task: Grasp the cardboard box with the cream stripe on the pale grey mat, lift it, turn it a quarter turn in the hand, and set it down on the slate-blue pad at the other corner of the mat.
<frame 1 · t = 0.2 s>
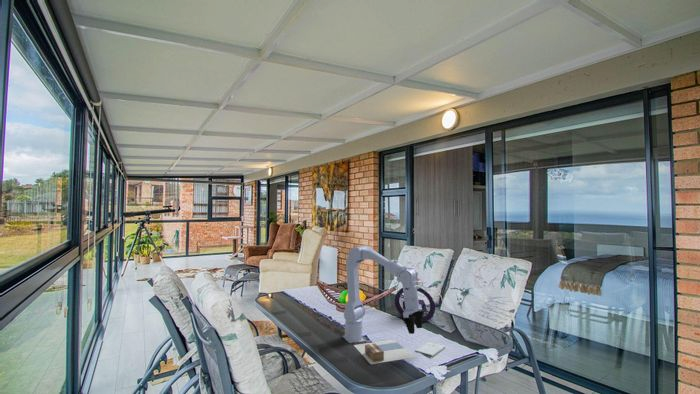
hand: (415, 330, 152), 10 cm above the table, tool pointing down, fingers open, 7 cm apart
cardboard box: (374, 356, 149), point 1 cm above the table, touching mat
mat: (383, 352, 155), on the table
external hard drive: (430, 352, 157), on the table
decorative bottle: (414, 317, 202), on the table
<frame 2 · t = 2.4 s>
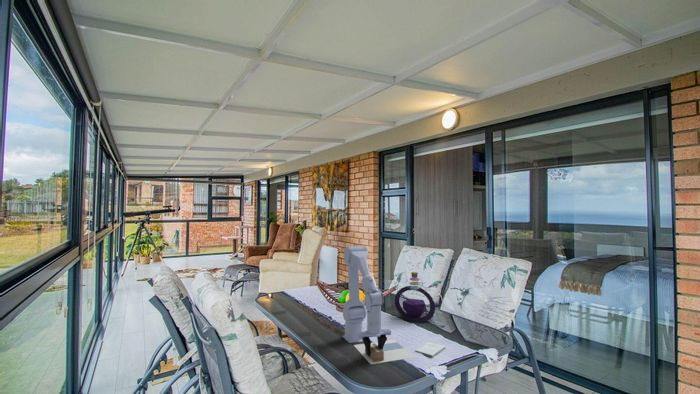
hand: (374, 354, 149), 2 cm above the table, tool pointing down, fingers closed on cardboard box, 4 cm apart
cardboard box: (374, 356, 149), point 1 cm above the table, touching gripper, mat
everything else where it was.
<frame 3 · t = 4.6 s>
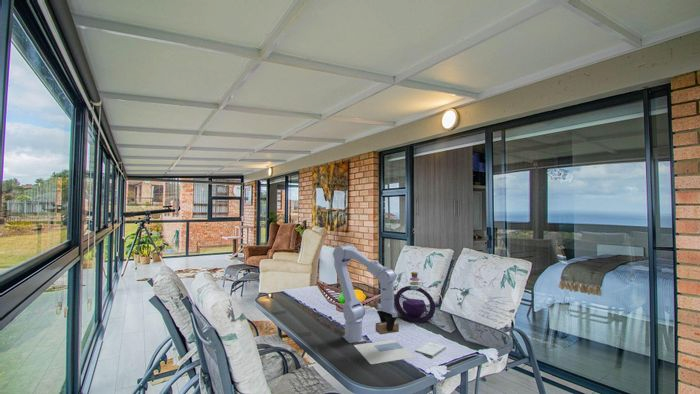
hand: (387, 329, 158), 9 cm above the table, tool pointing down, fingers closed on cardboard box, 4 cm apart
cardboard box: (387, 331, 158), point 8 cm above the table, touching gripper
everything else where it was.
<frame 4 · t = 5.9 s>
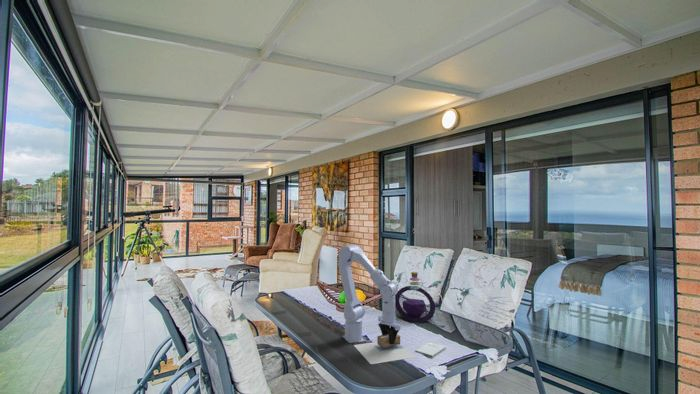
hand: (388, 341, 159), 3 cm above the table, tool pointing down, fingers closed on cardboard box, 4 cm apart
cardboard box: (388, 344, 159), point 2 cm above the table, touching gripper
everything else where it was.
when the fingers open (3 cm above the table, at t = 6.4 s): cardboard box drops 1 cm, resting on mat.
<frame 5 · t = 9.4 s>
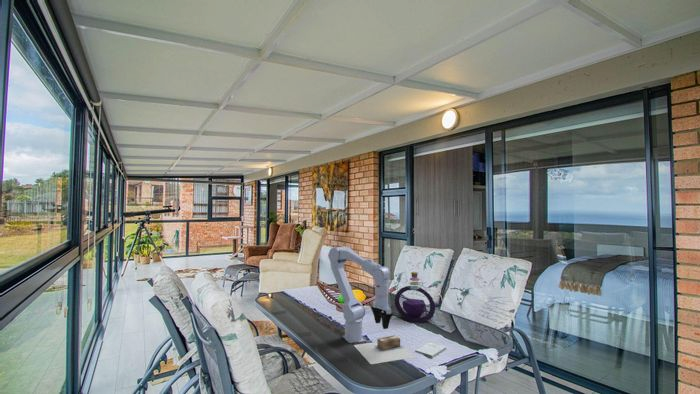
hand: (381, 325, 159), 10 cm above the table, tool pointing down, fingers open, 7 cm apart
cardboard box: (388, 346, 159), point 1 cm above the table, touching mat
everything else where it was.
at the end: cardboard box 0.0 cm from the target spot on the mat, point 0.7 cm above the mat's base; cardboard box tilted 0°; the gripper is holding nothing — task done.
